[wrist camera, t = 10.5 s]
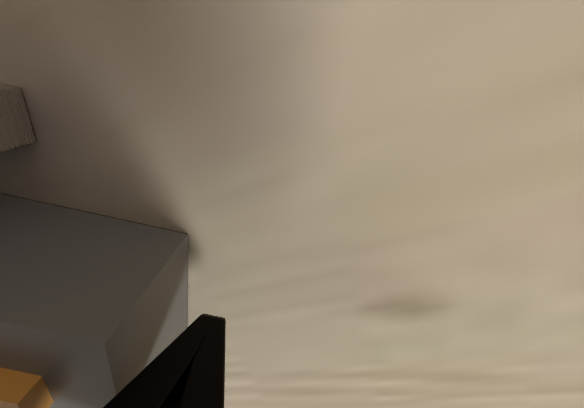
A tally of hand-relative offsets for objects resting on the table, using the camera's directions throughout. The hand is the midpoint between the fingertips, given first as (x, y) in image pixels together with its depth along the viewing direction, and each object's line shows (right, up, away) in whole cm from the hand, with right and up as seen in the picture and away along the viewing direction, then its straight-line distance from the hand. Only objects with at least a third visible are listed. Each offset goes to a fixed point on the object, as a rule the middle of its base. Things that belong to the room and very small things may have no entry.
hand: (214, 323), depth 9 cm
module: (-5, +1, +2) cm, 5 cm away
